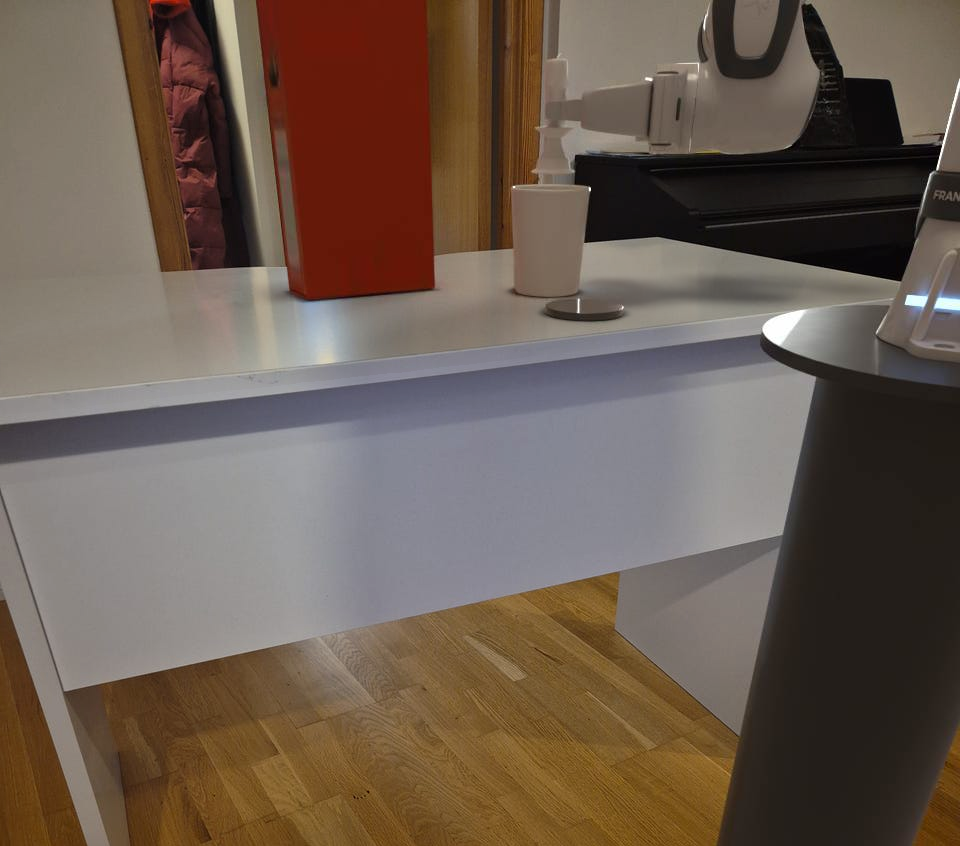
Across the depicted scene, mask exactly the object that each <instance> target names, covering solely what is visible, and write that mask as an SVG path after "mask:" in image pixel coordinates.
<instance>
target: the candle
mask: <svg viewBox="0 0 960 846" xmlns="http://www.w3.org/2000/svg"><path fill="white" fill-rule="evenodd" d="M561 54H562V53H561V52H560V53H559V54H558V55H557V56H556V58H550V59H547V60H546V63H545V80H544V81H545V83H544V111H543V114H544V115H543V119H544V120H543V125H542V126H535V127H534V129H535V130H536V131H538V132H539V133H540V134H541V135H542V136H543V137H545V138H546V142H545V145H544V147H543V150H542V153H541V155H540V157H538V158H537V160H536V165H535V168H534V169H531V171H530V173H531V174H536V175H570V174H575V172H576V171H575V170H574V169H572V167H571V162H570V157H568V156H567V154H566V152H565V147H564V145H563V138H564V137H566V135H568V134H569V133H570V132H572V130H574V129H575V126H570V125H569V126H568V125H567V124H566V122H567V120H548V119H547V118H546V116H545V110H546V104H547V102H549V101H566V100H568V97H567V96H568V90H569V87H570V77H569V60H568V58H559V57H560V55H561Z"/></svg>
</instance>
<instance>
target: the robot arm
mask: <svg viewBox="0 0 960 846" xmlns="http://www.w3.org/2000/svg"><path fill="white" fill-rule="evenodd" d="M806 2H807V0H709V3H708V5H707V9H706V12H705V13H704V15H703V17H702V19H701V21H700V25H699V27H698V32H697V55H698V58H699V61H700V62H683V63H681V62H678V63H677V62H676V63H673V62H672V63H657V64H656V66H655V72H654V74H653V76H648V77H647V76H641V77H640V79H639V81H633V82H626V83H617V84H611V85H605V86H599V87H593V88H589V89H585V90H584V91H583V92H582V94H581V98H579V99H578V98H575V99H567V100H566V101H549V102H547V104H546V110H545V116H546V118H547V119H548V120H566V121H571V122H580V127H581V129H582V130H586V131H590V132H598V133H604V134H610V135H611V134H612V135H621V136H628V137H635V138H634V141H635V142H637V143H638V142H639V143H640V142H643V143H644V142H645V143H646V142H647V144H648V154H649V155H692V154H696V153H699V152H702V151H716V152H719V153H722V154H727V155H744V154H746V155H747V154H761V153H770V152H777V151H781V150H785V149H787V148H789V147H791V146H792V145H793V144H794V143H796V142H797V141H798V140H799V138H800V137H801V136H802V135H803V134H804V132H805V130H806V128H807V127H808V124H809V122H810V120H811V118H812V114H813V112H814V109H815V106H816V103H817V99H818V95H819V91H820V87H821V86H820V85H821V72H820V71H821V70H820V69H819V67H818V66H817V64H816V63H815V61H814V59H813V57H812V54H811V51H810V47H809V44H808V40H807V36H806V33H805V25H804V21H803V19H804V17H803V10H802V9H803V8H802V7H803V5H805V3H806ZM953 99H954V100H953V103H952V107H951V111H950V114H949V119H948V123H947V127H946V131H945V135H944V139H943V142H942V145H941V146H942V147H941V150H940V154H939V159H938V162H937V166H936V170H935V169H934V170H933V171H931V172H930V173H929V177H928V180H927V185H926V187H925V189H924V191H923V194H922V197H921V201H920V205H919V209H918V213H917V216H916V217H917V218H916V222H915V231H914V236H913V237H914V238H915V242H914V246H913V249H912V251H911V254H910V257H909V260H908V263H907V265H906V268H905V271H904V272H903V273H904V274H903V276H902V279H901V281H900V283H899V286H898V288H897V290H896V293H895V295H894V298H893V299H892V302H891V304H890V305H891V306H890V308H889V310H888V312H887V314H886V316H885V317H884V319H883V321H882V323H881V325H880V326H879V328H878V330H877V332H876V335H877V336H878V337H879V338H880V339H882V340H884V341H886V342H888V343H890V344H893V345H895V346H898V347H901V348H903V349H905V350H906V351H907V352H908V353H909V354H911V355H912V356H915V357H918V358H923V359H930V360H939V361H947V362H955V363H960V79H959V80H958V84H957V87H956V91H955V95H954V98H953Z"/></svg>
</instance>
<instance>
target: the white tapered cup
mask: <svg viewBox="0 0 960 846" xmlns="http://www.w3.org/2000/svg"><path fill="white" fill-rule="evenodd" d="M590 194H591V186H589V185H588V186H587V185H581V184H580V185H579V184H561V183H560V184H559V183H558V184H556V183H549V184H548V183H541V184H540V183H538V184H518V185H517V184H516V185H512V186H511V187H510V196H511V197H510V199H511V226H512V227H511V228H512V232H511V233H512V260H513V261H512V262H513V263H512V264H513V265H512V266H513V285H514V291H515V292H516V293H517V294H519V295H523V296H528V297H539V298H540V297H541V298H556V297H557V298H558V297H568V296H571V295H575V294H577V293H578V292H579V288H580V282H581V281H580V280H581V273H582V264H583V256H584V255H583V254H584V248H585V247H584V245H585V237H586V229H587V228H586V227H587V219H588V211H589V202H590Z"/></svg>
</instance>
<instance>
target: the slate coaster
mask: <svg viewBox="0 0 960 846" xmlns="http://www.w3.org/2000/svg"><path fill="white" fill-rule="evenodd" d="M544 313H545V314H546V315H548V316H549V317H551V318H555V319H560V320H567V321H568V320H569V321H581V322H596V321H608V320H614V319H618V318H620V317H622V316H623V314H624V306H623V304H621V303H618V302H615V301H613V300H612V301H611V300H607V299H599V298H598V299H597V298H564V299H556V300H552V301H549V302H547V303H545V306H544Z"/></svg>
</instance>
